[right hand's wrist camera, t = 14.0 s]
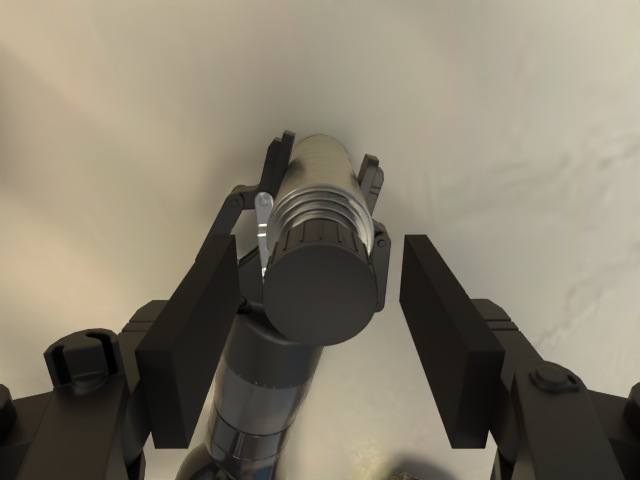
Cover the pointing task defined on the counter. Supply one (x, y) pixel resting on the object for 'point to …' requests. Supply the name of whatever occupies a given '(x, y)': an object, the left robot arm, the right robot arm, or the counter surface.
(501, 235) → the counter surface
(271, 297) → the cap
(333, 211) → the bottle
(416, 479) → the fossil
